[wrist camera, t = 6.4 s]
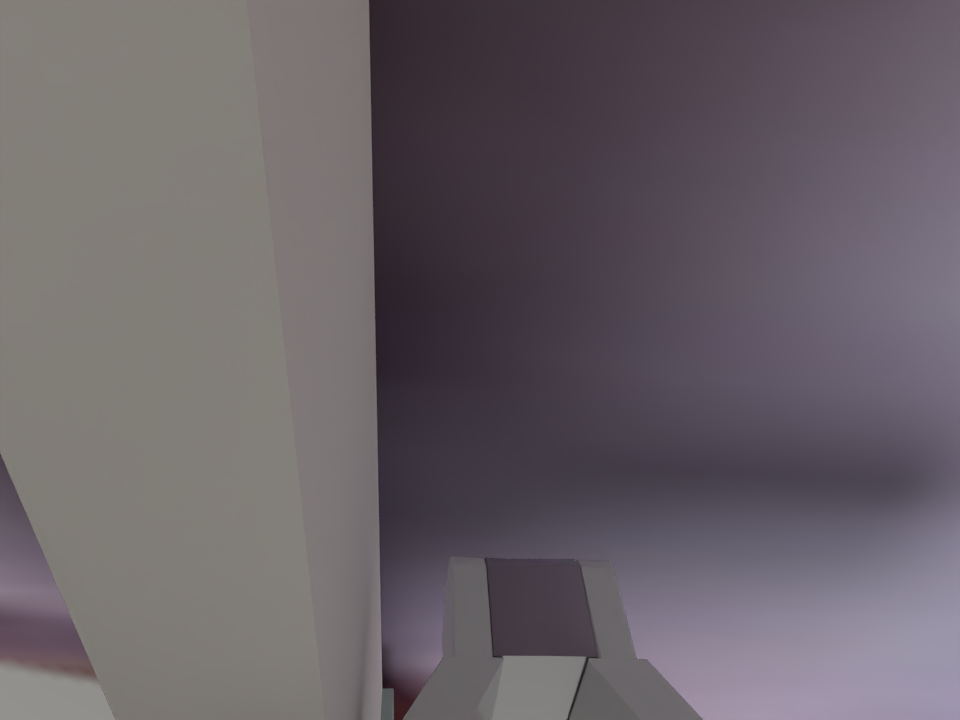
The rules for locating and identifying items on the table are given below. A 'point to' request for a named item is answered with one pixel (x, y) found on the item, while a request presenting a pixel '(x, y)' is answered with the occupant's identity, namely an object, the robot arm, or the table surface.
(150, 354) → the gate
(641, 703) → the robot arm
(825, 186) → the table surface
